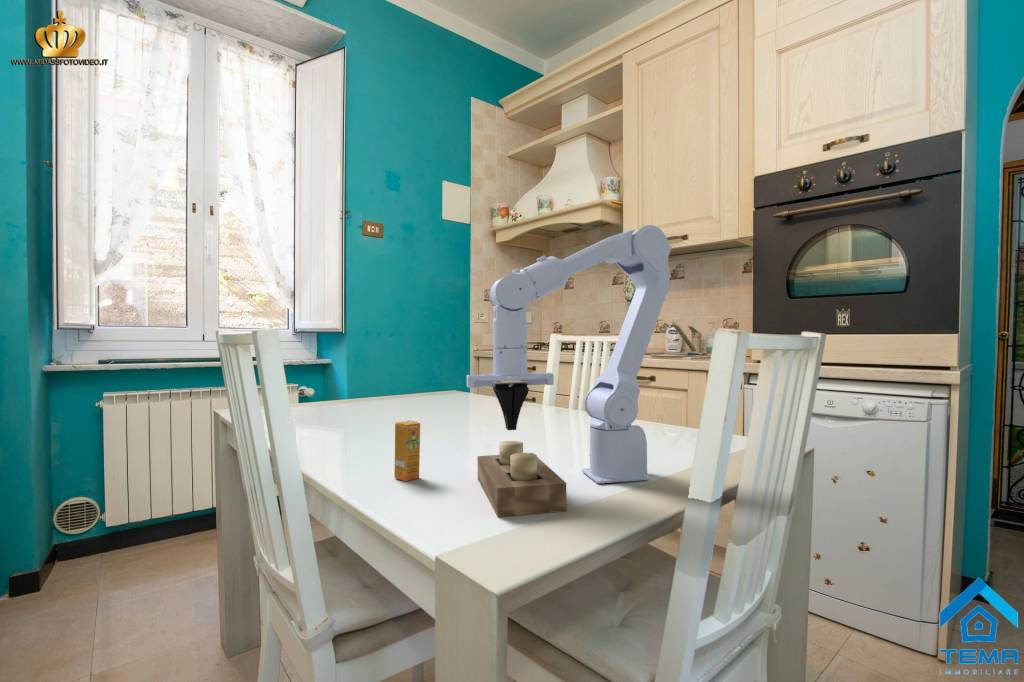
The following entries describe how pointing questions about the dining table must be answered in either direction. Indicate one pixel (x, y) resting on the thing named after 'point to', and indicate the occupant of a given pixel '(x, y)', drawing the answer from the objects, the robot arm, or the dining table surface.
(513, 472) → the peg
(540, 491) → the wooden peg hole block
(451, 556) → the dining table surface
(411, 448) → the supplement box
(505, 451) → the peg
